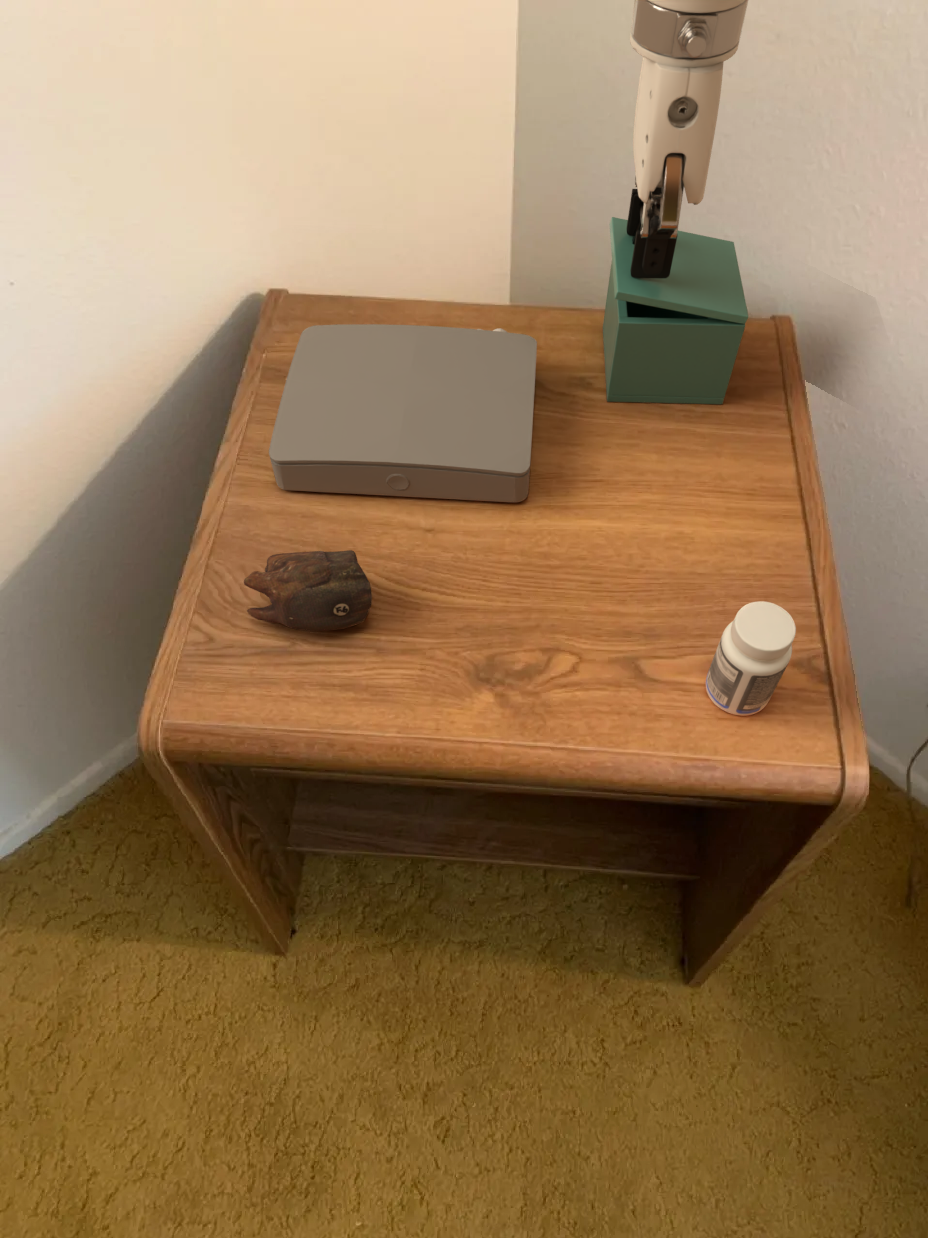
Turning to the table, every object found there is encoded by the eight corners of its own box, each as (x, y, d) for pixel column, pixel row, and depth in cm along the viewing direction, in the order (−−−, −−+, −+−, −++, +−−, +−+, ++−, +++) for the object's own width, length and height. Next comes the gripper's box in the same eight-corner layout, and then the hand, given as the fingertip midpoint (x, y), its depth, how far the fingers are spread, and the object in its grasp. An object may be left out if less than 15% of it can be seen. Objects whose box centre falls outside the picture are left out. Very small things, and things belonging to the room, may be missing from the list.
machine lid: (614, 299, 76) (634, 247, 72) (609, 224, 82) (627, 172, 78) (744, 324, 77) (771, 274, 73) (730, 249, 83) (754, 199, 79)
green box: (606, 401, 85) (618, 322, 78) (602, 327, 91) (613, 247, 84) (722, 404, 85) (745, 325, 77) (710, 329, 91) (731, 249, 83)
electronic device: (313, 346, 90) (305, 303, 86) (535, 356, 89) (538, 313, 85) (274, 493, 79) (263, 451, 75) (527, 506, 78) (530, 465, 74)
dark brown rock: (225, 588, 67) (358, 567, 66) (246, 548, 73) (370, 529, 71) (249, 656, 70) (378, 638, 69) (268, 614, 76) (387, 596, 74)
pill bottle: (774, 671, 69) (807, 606, 62) (764, 725, 66) (797, 663, 59) (710, 654, 69) (736, 588, 63) (698, 706, 67) (723, 643, 60)
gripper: (759, 81, 58) (701, 320, 73) (728, -34, 68) (682, 198, 83) (640, 80, 59) (606, 318, 74) (625, -35, 68) (598, 197, 83)
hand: (647, 252), depth 78 cm, fingers closed on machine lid, 5 cm apart
